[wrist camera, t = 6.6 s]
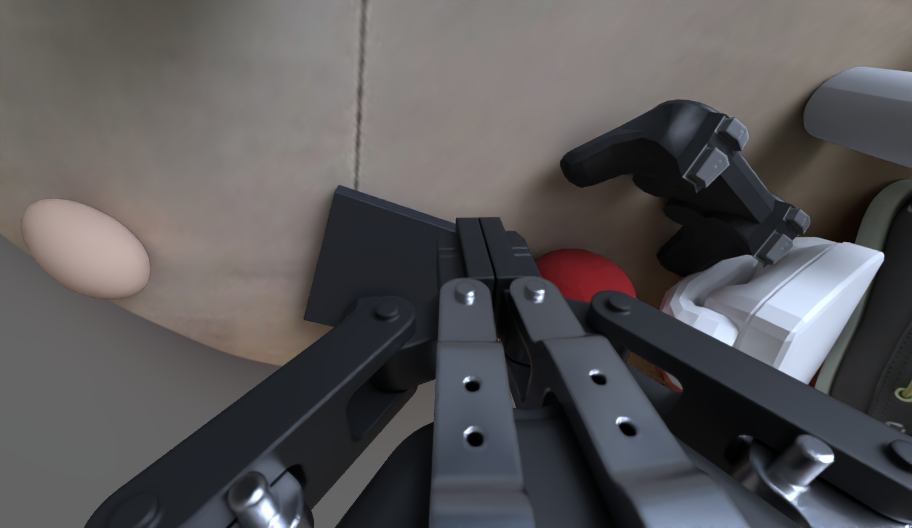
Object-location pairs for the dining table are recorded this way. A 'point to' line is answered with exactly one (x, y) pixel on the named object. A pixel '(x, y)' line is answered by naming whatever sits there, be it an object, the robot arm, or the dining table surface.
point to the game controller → (694, 184)
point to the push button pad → (373, 256)
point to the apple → (583, 274)
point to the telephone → (778, 302)
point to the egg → (85, 249)
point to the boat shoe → (879, 320)
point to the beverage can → (865, 112)
